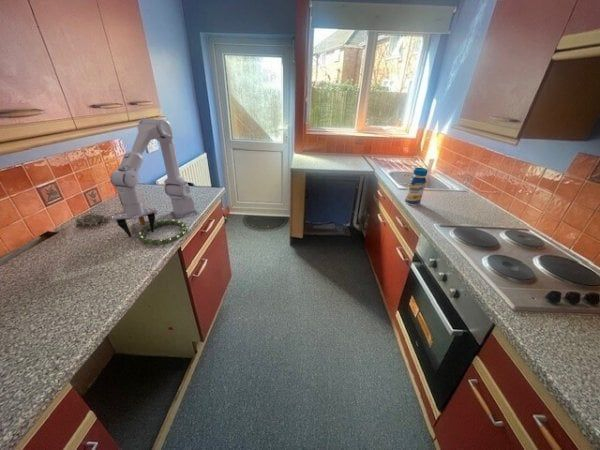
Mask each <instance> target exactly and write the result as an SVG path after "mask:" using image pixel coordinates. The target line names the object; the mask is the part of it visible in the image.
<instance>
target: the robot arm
mask: <svg viewBox="0 0 600 450" xmlns="http://www.w3.org/2000/svg"><path fill="white" fill-rule="evenodd" d="M171 125H172V124H171V123H170V122H169V121H167V120H166V119H163V118H161V119H159V118H158V119H157V118H146V117H142V118H140V119H139V121H138V124H137V125H136V128H137V131H138V132H137V134H136V137H135V140H134V142H133V145H132V147H131V150H130V151H126V152H125V153H124V154H123V157H122V159H121V161H120V163H119V165H118V167H117V169H115V170H114V171H112V173H111V174H110V179H109V182H110V183H111V185H112V186H114V187H115V190H116V191H117V193H118V192H119V195H120V198H121V201H122V204H123V207H124V210H125V213H124V212H122V213H119V214H116V215H112V216H111V220H112V221H113V222H112V223H117V226H118V227H119V228H120V229H122V230H123V231H124V233H126V234H127V236H128V238H132V233H131V230H130V229H129V226H128V222H127V220H132V219H133V220H136V219H139V217H143V216H144V217H147V220H148V222H149V223H148V224H150V228H151V230H150V232H151V233H154V228H153V225H154V222H156V221H155V220H156V216H157V215H159V213H158V209H157V208H143V205H142V202H141V199H140V195H139V191H138V188H137V184H138V183H139V171H140V169H141V166H142V164H143V162H144V159H143V154H144V153H145V151H146V150H147V147H148V146H149V144H150V142H151V141H152V140H156V141H157V142H159V145H160V150H161V154H162V158H163V162H164V167H165V172H166V177H167V178H166V179H164V181H163V183H164V189H163V190H164V193H165V195H166V196H168V198H169V199H170V202H171V206H172V211H173V215H177V216H182V215H186V214H189V213H194V212H196V208H195V207H196V206H195V204H194V199H193V196H192V194H190V193H191V187H190V185H189V184H188V183H189V182H188V180H187V179H186V178H184V177H183V176H181V171H180V166H179V161H178V157H177V151H176V146H175V141H174V136H173V130H172V126H171ZM119 195H118V196H119ZM120 198H119V199H120ZM121 201H120V202H121ZM122 204H121V205H122ZM123 207H122V208H123ZM124 210H123V211H124Z"/></svg>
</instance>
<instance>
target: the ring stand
mask: <svg viewBox="0 0 600 450" xmlns="http://www.w3.org/2000/svg"><path fill="white" fill-rule="evenodd" d="M138 222H139V226H141V227H145V226H146V225H147V223H146V220H145V216H143V217H139V218H138Z"/></svg>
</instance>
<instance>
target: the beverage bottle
mask: <svg viewBox="0 0 600 450" xmlns="http://www.w3.org/2000/svg"><path fill="white" fill-rule="evenodd" d="M412 172H413V173H412V176H411V178H410V180H409V183H408V184H407V185H408V187H407V190H406V195H405V199H404V202H405V203H406V204H407V205H409V206H413V207H415V206H419V205H421V201H422V198H423V194H424V191H425V188H426V183H427V179H426V177H427V176H428V172H429V170H428V169H427V168H424V167H414V169H413V171H412Z"/></svg>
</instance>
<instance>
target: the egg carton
mask: <svg viewBox="0 0 600 450" xmlns="http://www.w3.org/2000/svg"><path fill="white" fill-rule="evenodd" d="M105 216H106V215H105V214H103V215H102V214H100V213H94V212H89V213H88V214H85V215H84V216H83V215H81V217H80V218H79V217H72V219H75V220H76V221H75V223H76V225H83V226H89V227H93V226H95V227H96V226H98V225H99V223H104V222H106V218H105ZM86 219H88V220H87V221H86Z"/></svg>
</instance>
